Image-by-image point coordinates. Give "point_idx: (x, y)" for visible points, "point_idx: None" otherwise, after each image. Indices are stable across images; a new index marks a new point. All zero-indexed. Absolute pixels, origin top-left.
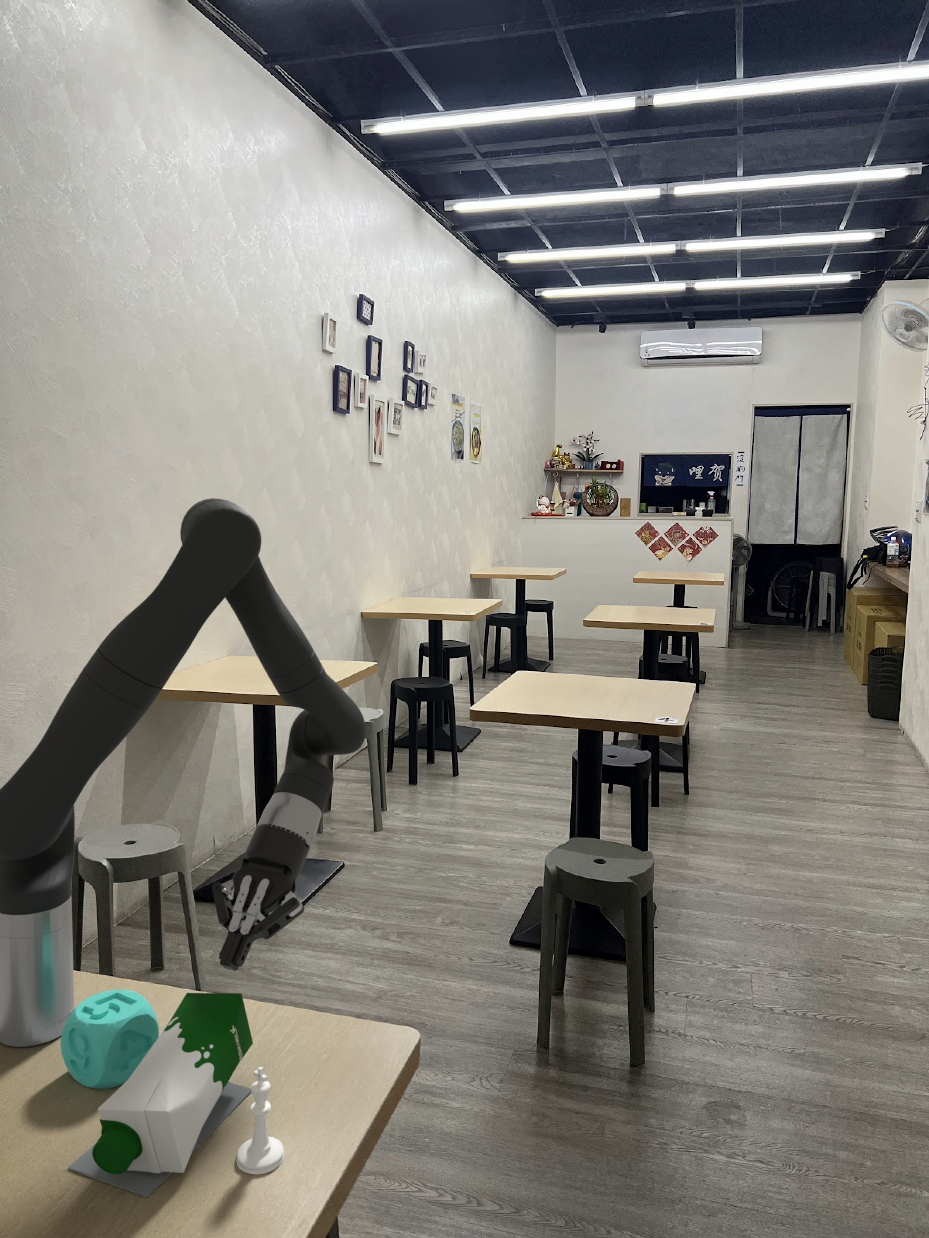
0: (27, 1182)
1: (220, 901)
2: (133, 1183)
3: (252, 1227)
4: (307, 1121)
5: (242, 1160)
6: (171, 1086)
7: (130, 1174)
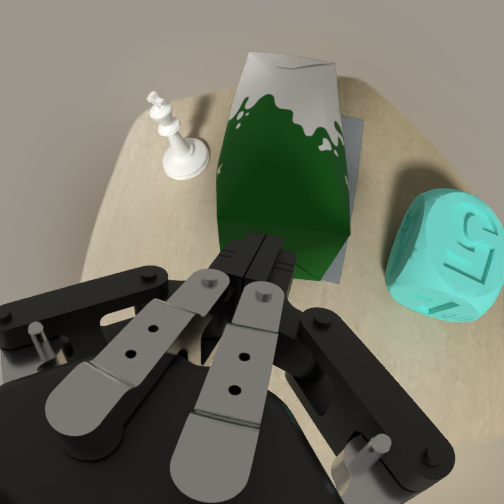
0: (383, 108)
1: (371, 386)
2: None
3: (177, 100)
4: (148, 216)
5: (198, 140)
6: (259, 67)
7: None
